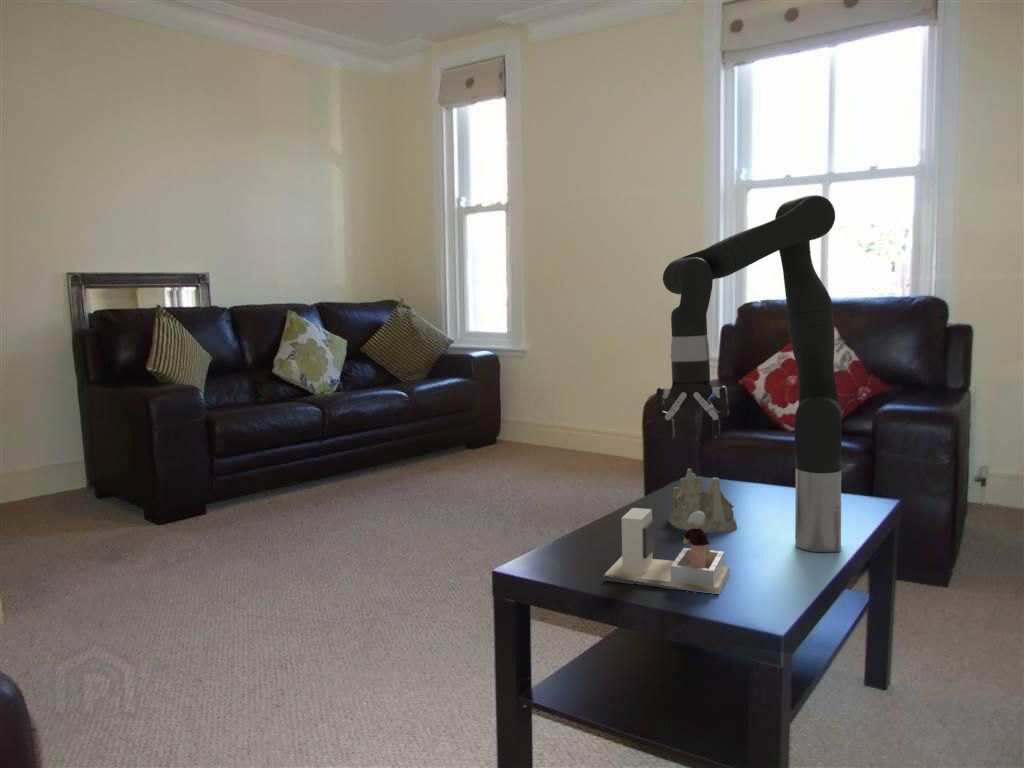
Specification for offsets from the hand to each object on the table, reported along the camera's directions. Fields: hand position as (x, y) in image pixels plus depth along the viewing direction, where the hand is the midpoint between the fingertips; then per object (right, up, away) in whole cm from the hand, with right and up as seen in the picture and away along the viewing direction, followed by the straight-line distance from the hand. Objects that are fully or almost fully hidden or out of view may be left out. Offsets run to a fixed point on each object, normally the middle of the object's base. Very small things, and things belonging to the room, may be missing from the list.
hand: (693, 437), depth 161 cm
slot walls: (-1, -26, -7) cm, 27 cm away
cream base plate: (-6, -27, -5) cm, 28 cm away
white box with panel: (-11, -26, -2) cm, 28 cm away
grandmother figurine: (-1, -26, -8) cm, 27 cm away
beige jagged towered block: (+10, -24, +32) cm, 41 cm away
